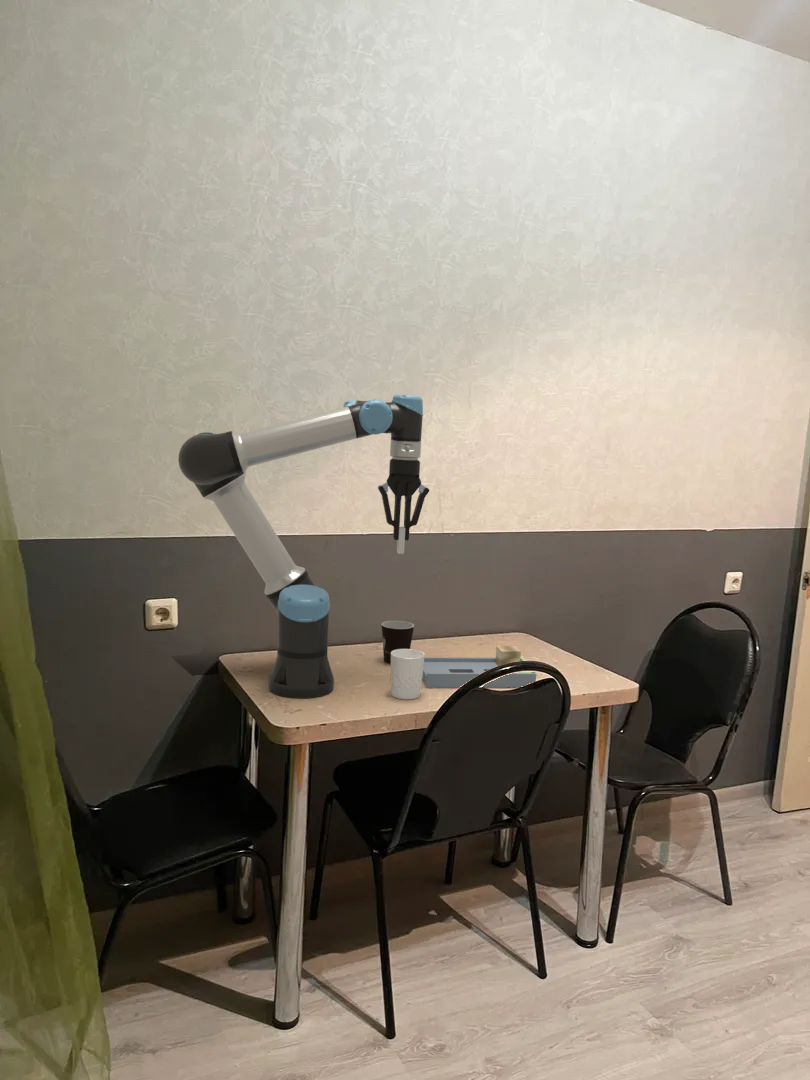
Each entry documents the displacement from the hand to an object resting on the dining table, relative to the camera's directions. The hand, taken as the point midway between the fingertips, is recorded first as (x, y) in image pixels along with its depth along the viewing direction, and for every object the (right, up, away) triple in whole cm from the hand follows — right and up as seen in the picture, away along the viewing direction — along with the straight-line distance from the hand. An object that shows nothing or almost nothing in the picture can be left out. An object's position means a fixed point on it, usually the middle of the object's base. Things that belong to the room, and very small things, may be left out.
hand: (400, 552), depth 203 cm
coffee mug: (-1, -29, +13) cm, 32 cm away
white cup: (+1, -33, -14) cm, 36 cm away
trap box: (+19, -32, 0) cm, 37 cm away
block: (+27, -29, +5) cm, 40 cm away
